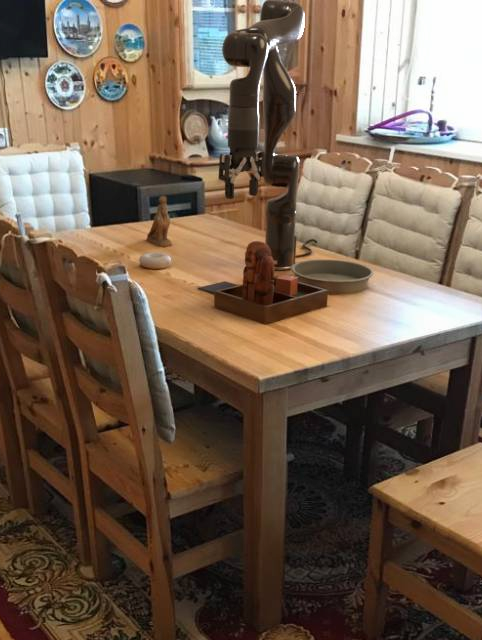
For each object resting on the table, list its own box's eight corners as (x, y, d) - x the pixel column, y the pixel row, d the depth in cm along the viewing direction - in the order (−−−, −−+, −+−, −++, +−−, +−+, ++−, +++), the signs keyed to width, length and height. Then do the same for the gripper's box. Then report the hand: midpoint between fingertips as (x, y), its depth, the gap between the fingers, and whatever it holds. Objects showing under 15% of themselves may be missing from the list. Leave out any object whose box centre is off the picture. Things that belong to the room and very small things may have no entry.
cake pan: (273, 282, 244) (273, 267, 242) (325, 269, 260) (326, 255, 258) (337, 300, 230) (339, 284, 228) (388, 286, 246) (390, 270, 244)
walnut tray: (276, 291, 236) (276, 275, 234) (327, 306, 225) (328, 289, 223) (213, 307, 220) (214, 290, 218) (265, 324, 209) (266, 307, 207)
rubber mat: (225, 282, 242) (225, 281, 242) (251, 290, 236) (251, 289, 236) (197, 289, 235) (197, 287, 235) (224, 297, 229) (224, 295, 228)
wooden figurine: (234, 306, 221) (236, 238, 212) (255, 303, 224) (257, 236, 215) (257, 318, 213) (259, 248, 204) (277, 315, 216) (281, 246, 207)
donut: (135, 268, 252) (166, 271, 251) (134, 257, 251) (165, 259, 249) (145, 261, 261) (175, 263, 259) (144, 250, 259) (175, 252, 257)
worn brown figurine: (171, 252, 282) (175, 201, 270) (156, 253, 280) (160, 201, 268) (159, 238, 290) (163, 187, 278) (145, 238, 287) (148, 187, 276)
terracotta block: (282, 290, 228) (283, 274, 226) (297, 293, 226) (298, 277, 224) (275, 294, 224) (276, 277, 222) (289, 297, 222) (290, 280, 220)
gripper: (233, 129, 192) (232, 202, 200) (274, 127, 201) (271, 196, 209) (211, 126, 196) (211, 197, 204) (252, 124, 206) (250, 192, 214)
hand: (241, 196), depth 207 cm, fingers open, 8 cm apart
